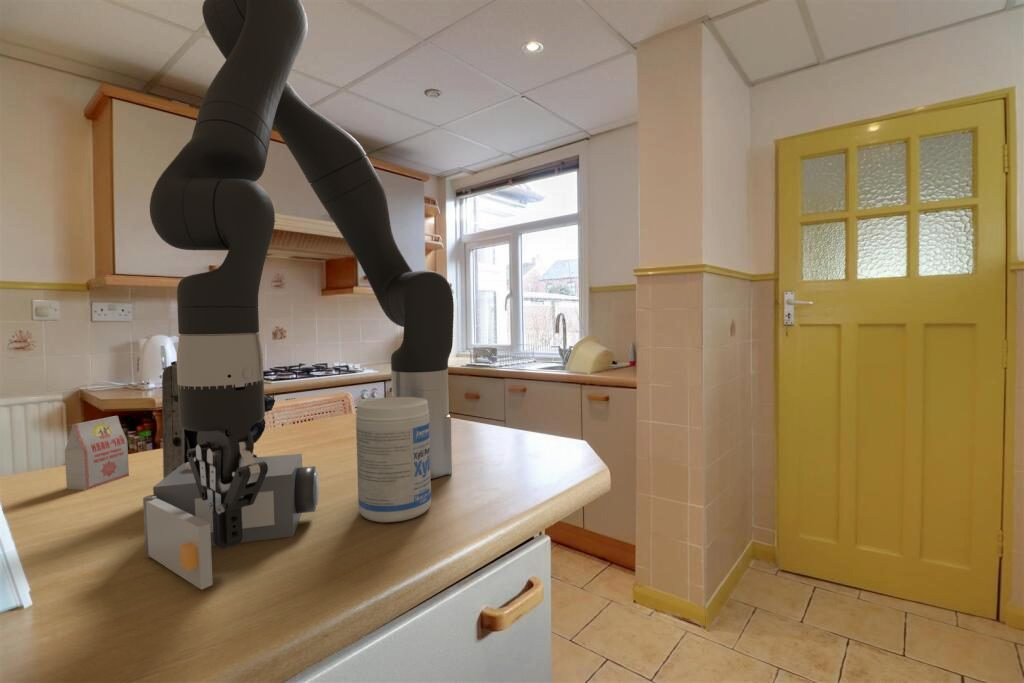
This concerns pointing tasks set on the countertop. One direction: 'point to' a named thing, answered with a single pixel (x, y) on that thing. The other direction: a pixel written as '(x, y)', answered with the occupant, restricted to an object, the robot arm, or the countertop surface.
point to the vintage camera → (179, 438)
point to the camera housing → (273, 507)
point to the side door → (178, 541)
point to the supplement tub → (393, 458)
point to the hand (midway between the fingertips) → (228, 544)
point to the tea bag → (96, 454)
